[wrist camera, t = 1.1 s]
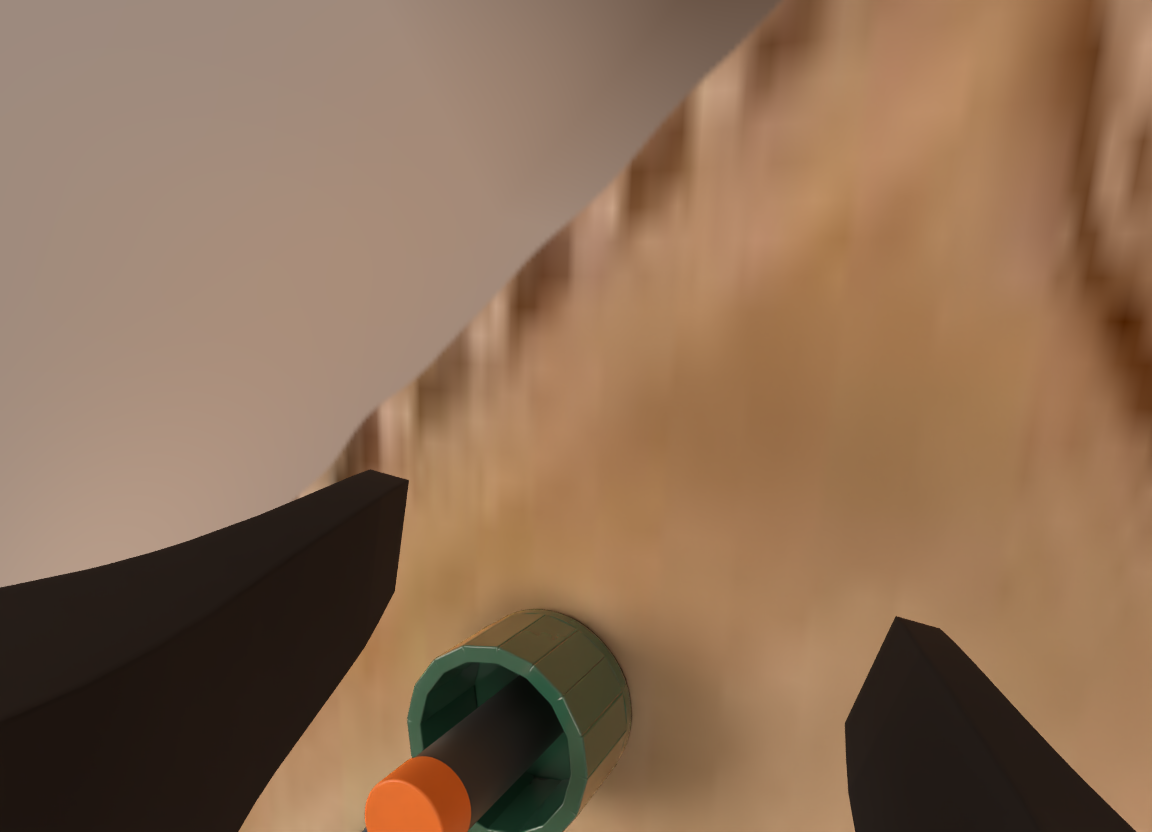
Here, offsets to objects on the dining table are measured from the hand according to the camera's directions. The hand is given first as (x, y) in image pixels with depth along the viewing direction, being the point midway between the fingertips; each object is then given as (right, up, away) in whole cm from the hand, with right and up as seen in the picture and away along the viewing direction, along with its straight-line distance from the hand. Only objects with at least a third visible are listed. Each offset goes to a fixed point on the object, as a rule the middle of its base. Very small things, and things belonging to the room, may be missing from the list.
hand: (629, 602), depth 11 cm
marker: (-2, -6, +13) cm, 15 cm away
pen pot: (-2, -6, +13) cm, 15 cm away
